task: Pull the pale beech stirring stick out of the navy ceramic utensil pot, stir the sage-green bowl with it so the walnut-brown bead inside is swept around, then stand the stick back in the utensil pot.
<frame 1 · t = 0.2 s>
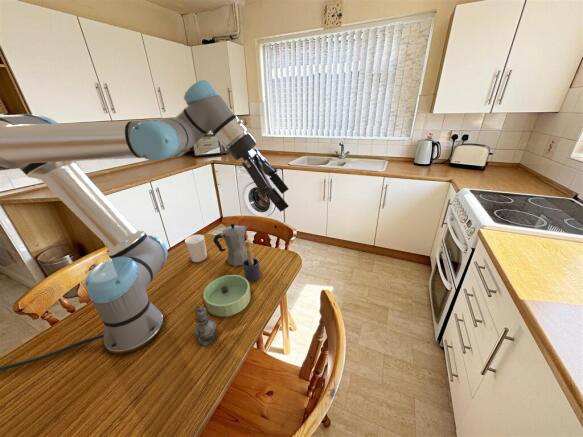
hand: (285, 199, 71), 35 cm above the table, tool tilted 35°, fingers open, 13 cm apart
bowl: (228, 300, 83), on the table
bead: (224, 289, 85), point 2 cm above the table, touching bowl
utensil pot: (252, 277, 94), on the table
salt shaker: (207, 337, 70), on the table
stirring stick: (252, 275, 94), resting on utensil pot
coffeepot: (235, 261, 104), on the table
white cup: (199, 258, 107), on the table
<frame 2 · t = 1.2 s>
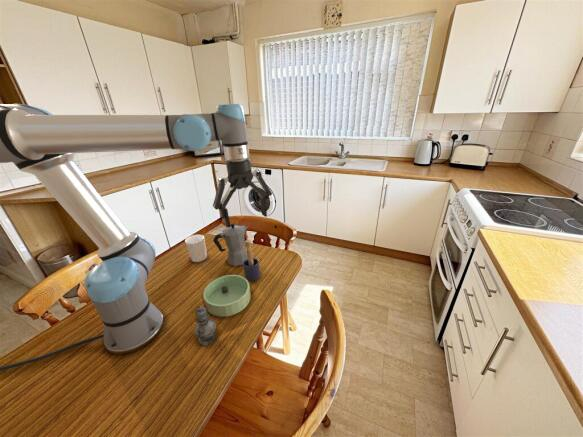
hand: (247, 220, 83), 25 cm above the table, tool pointing down, fingers open, 13 cm apart
nothing on the table moved.
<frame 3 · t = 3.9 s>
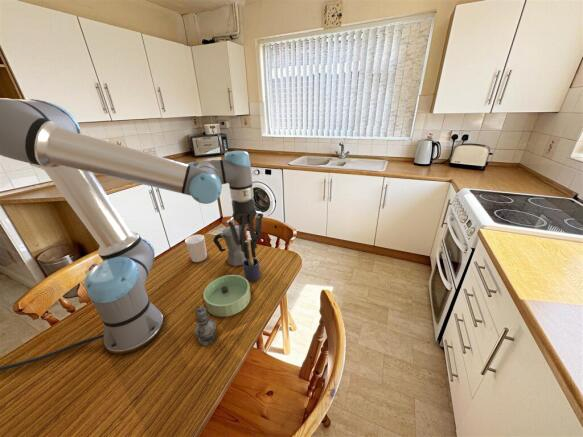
hand: (250, 256, 90), 9 cm above the table, tool pointing down, fingers closed on stirring stick, 2 cm apart
stirring stick: (252, 275, 94), point 1 cm above the table, touching gripper
everything else where it was.
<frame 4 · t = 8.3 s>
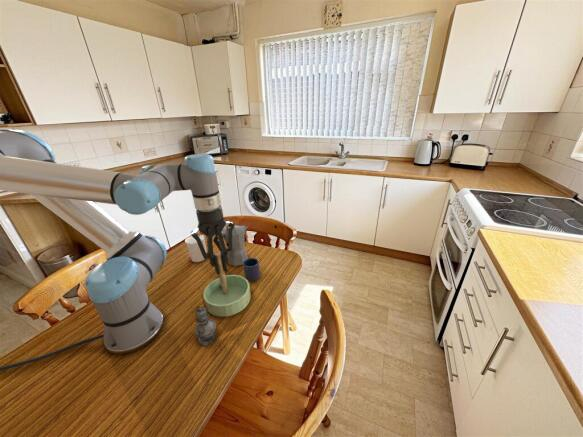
hand: (221, 270, 81), 10 cm above the table, tool pointing down, fingers closed on stirring stick, 2 cm apart
bead: (223, 286, 87), point 2 cm above the table, tilted 85°, touching bowl
stirring stick: (225, 291, 85), point 1 cm above the table, touching gripper
everything else where it was.
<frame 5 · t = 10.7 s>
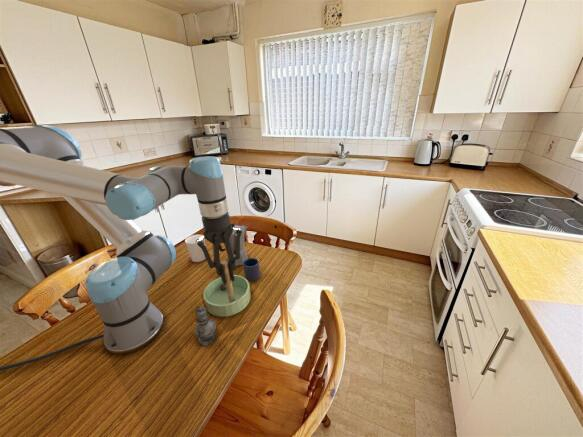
hand: (228, 280, 76), 11 cm above the table, tool pointing down, fingers closed on stirring stick, 2 cm apart
bead: (223, 287, 86), point 2 cm above the table, tilted 66°, touching bowl
stirring stick: (232, 301, 80), point 2 cm above the table, touching gripper
everything else where it was.
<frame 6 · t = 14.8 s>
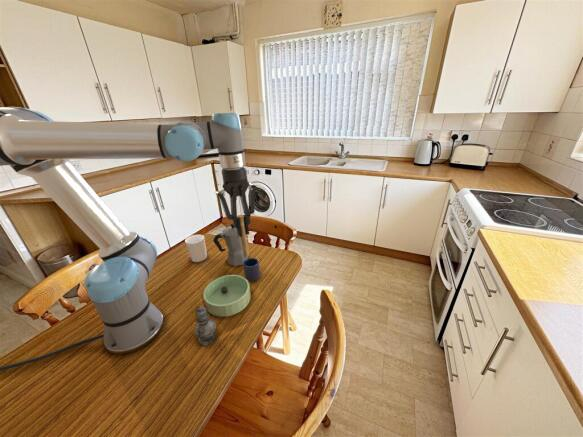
hand: (243, 233, 83), 21 cm above the table, tool pointing down, fingers closed on stirring stick, 2 cm apart
bead: (224, 290, 85), point 2 cm above the table, tilted 12°, touching bowl
stirring stick: (246, 255, 87), point 12 cm above the table, touching gripper
everything else where it was.
when the fingers open (9 cm above the table, at t = 18.0 s): stirring stick stays where it is, resting on utensil pot.
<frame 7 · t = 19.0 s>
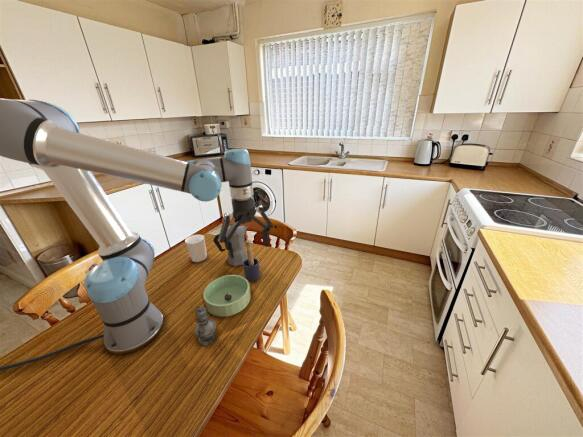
hand: (249, 250, 89), 12 cm above the table, tool pointing down, fingers open, 13 cm apart
bead: (227, 297, 82), point 2 cm above the table, tilted 150°, touching bowl
stirring stick: (252, 276, 94), resting on utensil pot
everything else where it was.
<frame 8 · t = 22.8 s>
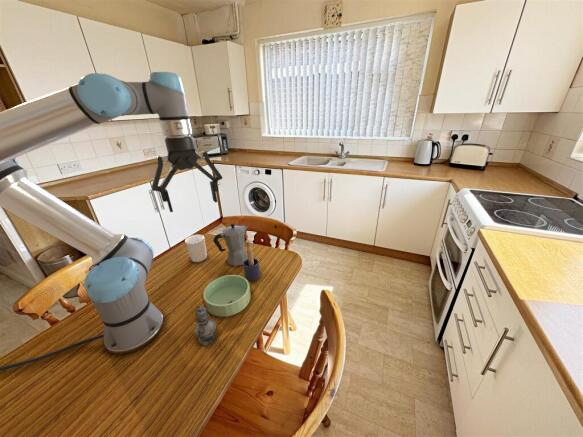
hand: (194, 205, 76), 33 cm above the table, tool pointing down, fingers open, 13 cm apart
bead: (231, 303, 79), point 2 cm above the table, tilted 30°, touching bowl
everything else where it was.
at the end: bead moved 8.2 cm from its start; stirring stick 0.1 cm off-centre in the utensil pot, point 0.5 cm above the utensil pot's base; the gripper is holding nothing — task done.
